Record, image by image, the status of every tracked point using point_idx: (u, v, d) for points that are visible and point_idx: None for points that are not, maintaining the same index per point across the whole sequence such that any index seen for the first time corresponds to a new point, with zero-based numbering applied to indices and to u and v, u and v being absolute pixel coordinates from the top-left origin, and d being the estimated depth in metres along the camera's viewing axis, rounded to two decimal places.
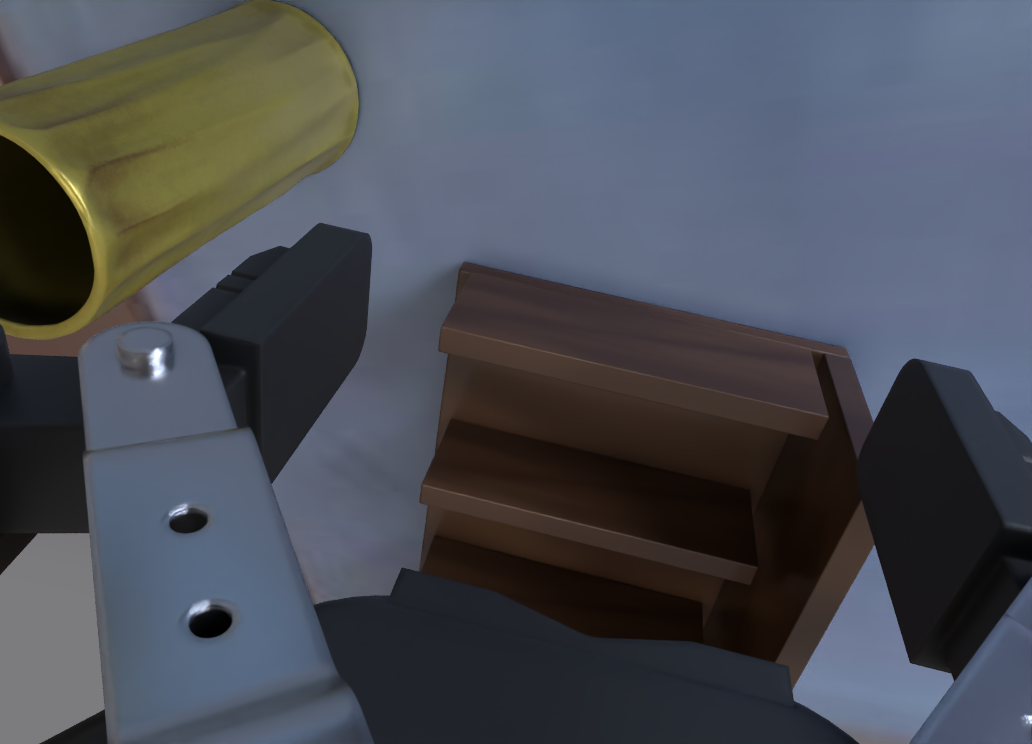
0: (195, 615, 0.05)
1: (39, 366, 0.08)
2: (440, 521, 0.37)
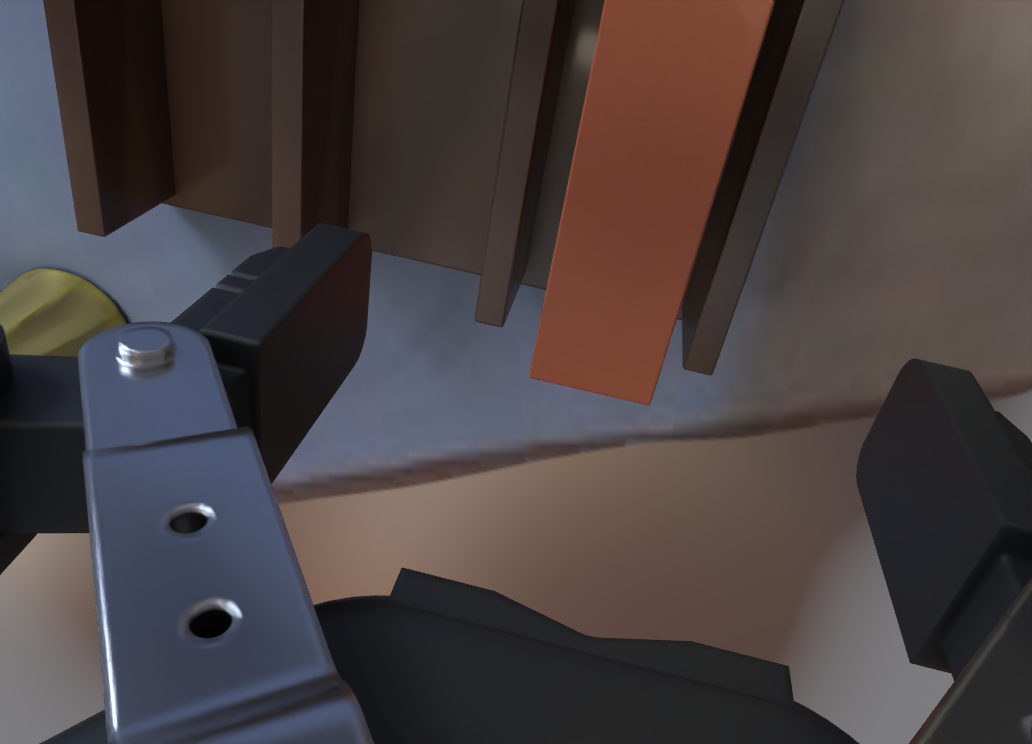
0: (195, 616, 0.05)
1: (38, 367, 0.08)
2: (475, 257, 0.30)
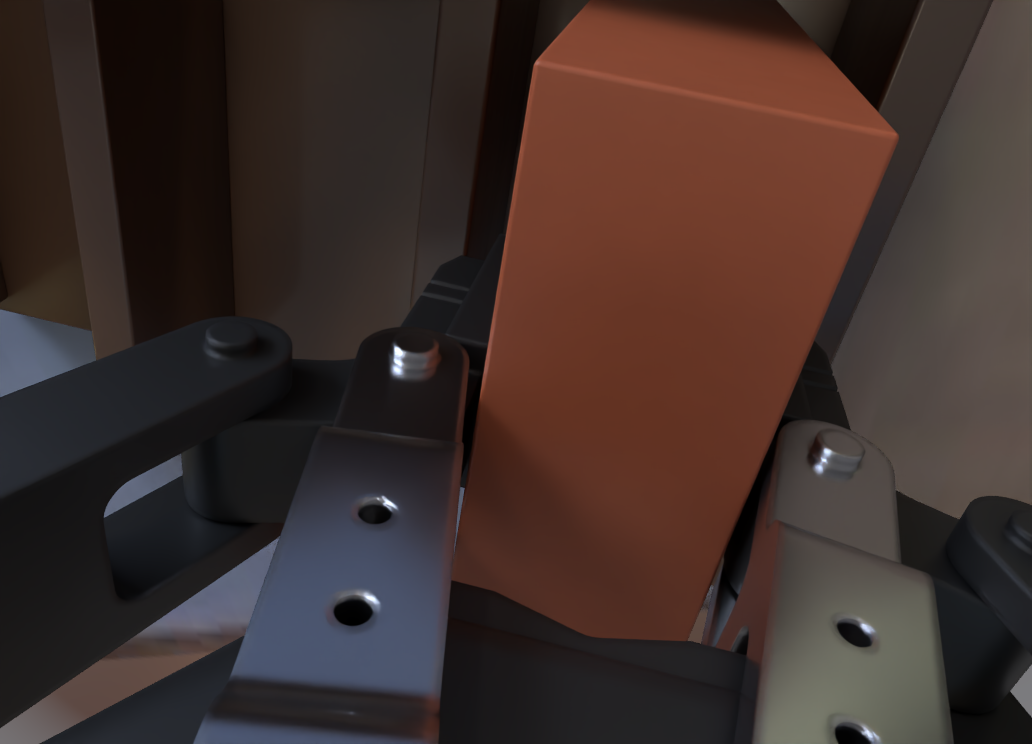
0: (344, 600, 0.05)
1: (305, 370, 0.09)
2: None
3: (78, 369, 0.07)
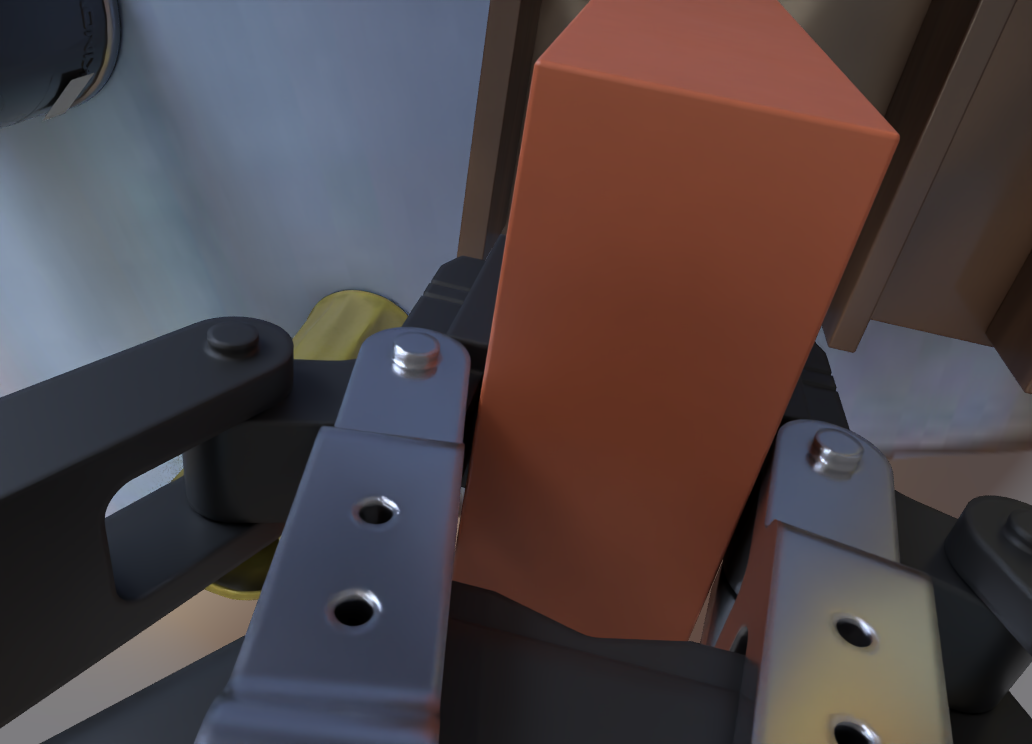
0: (344, 600, 0.05)
1: (307, 369, 0.09)
2: None
3: (80, 369, 0.07)
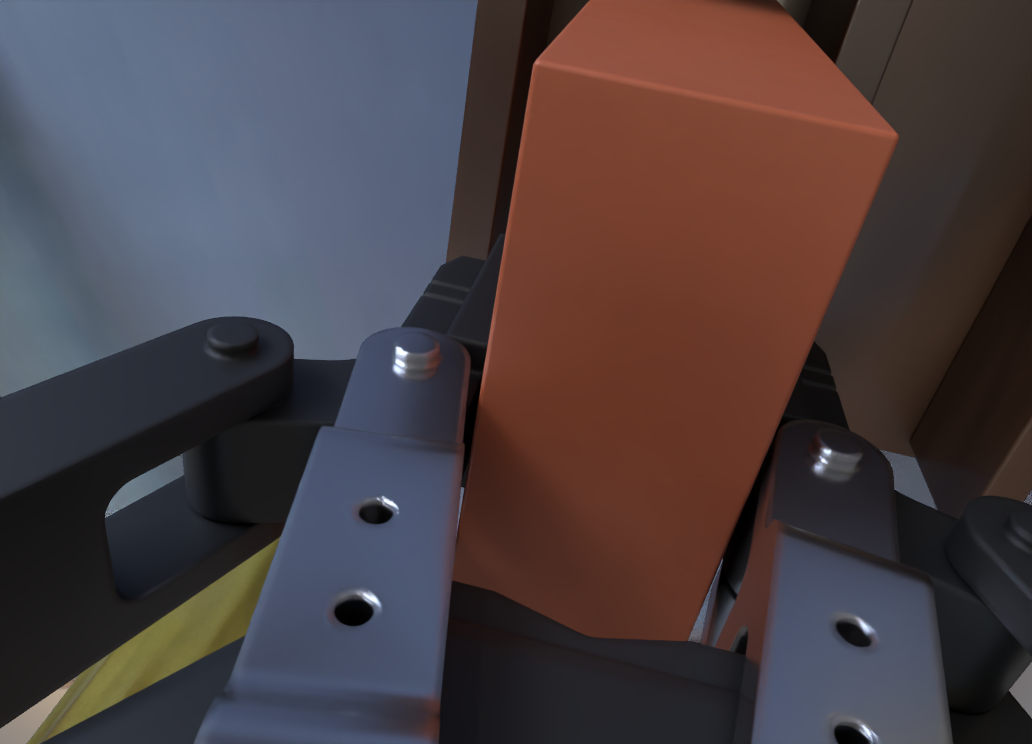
0: (344, 599, 0.05)
1: (306, 370, 0.09)
2: (879, 430, 0.24)
3: (79, 369, 0.07)
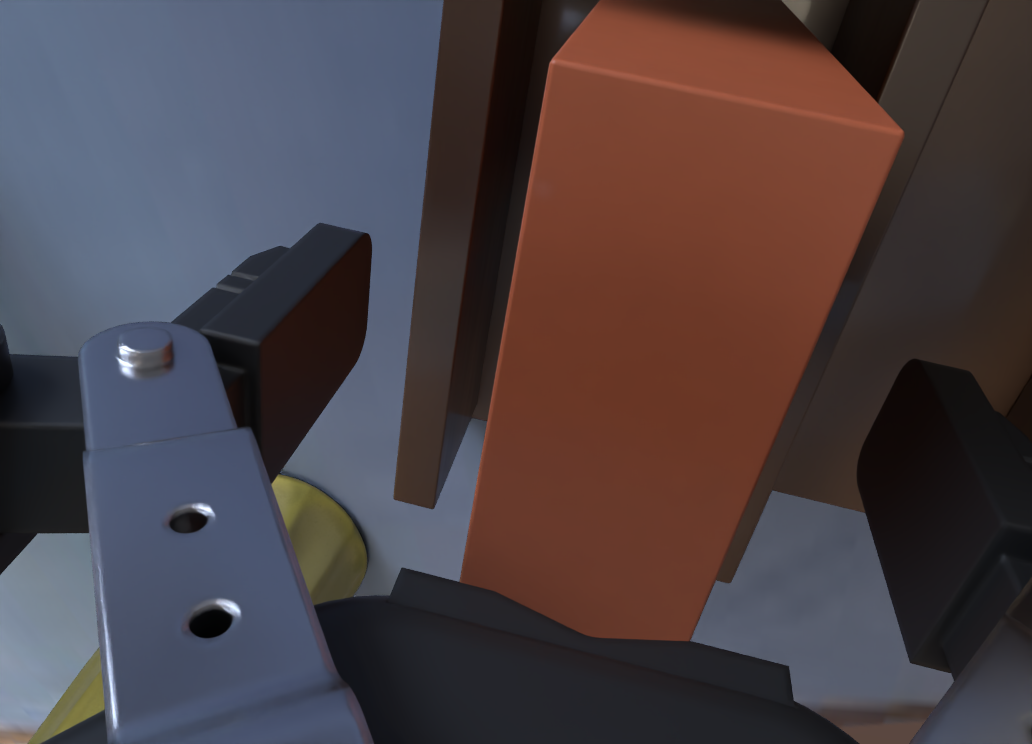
0: (196, 615, 0.05)
1: (38, 367, 0.08)
2: None
3: None
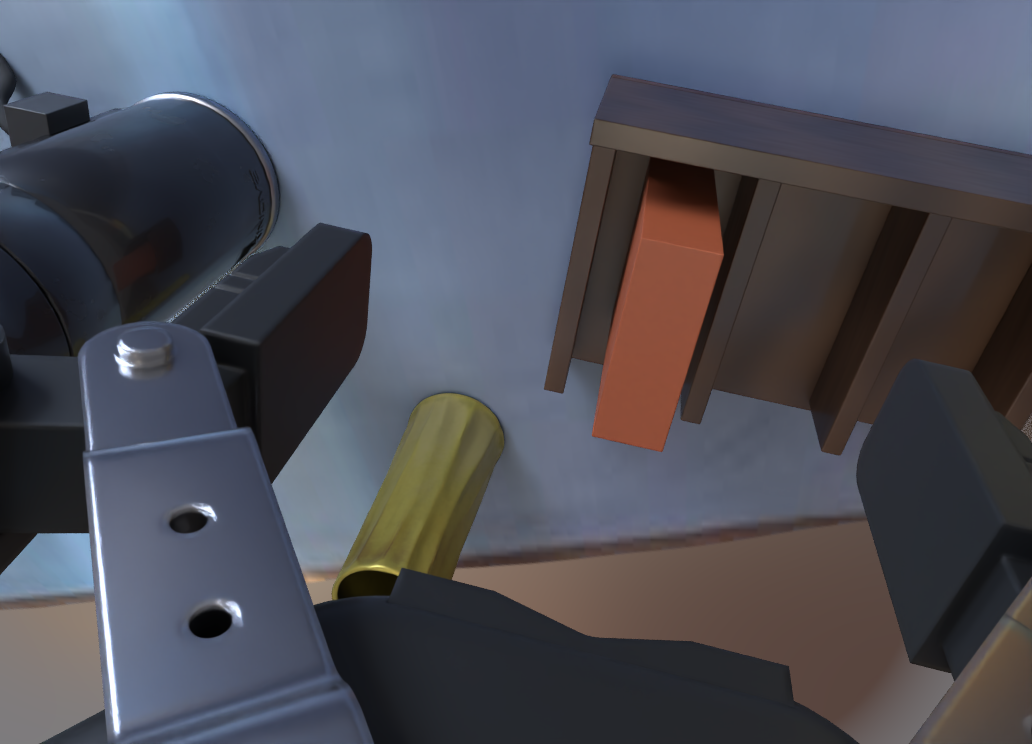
0: (195, 616, 0.05)
1: (38, 366, 0.08)
2: (791, 395, 0.43)
3: None
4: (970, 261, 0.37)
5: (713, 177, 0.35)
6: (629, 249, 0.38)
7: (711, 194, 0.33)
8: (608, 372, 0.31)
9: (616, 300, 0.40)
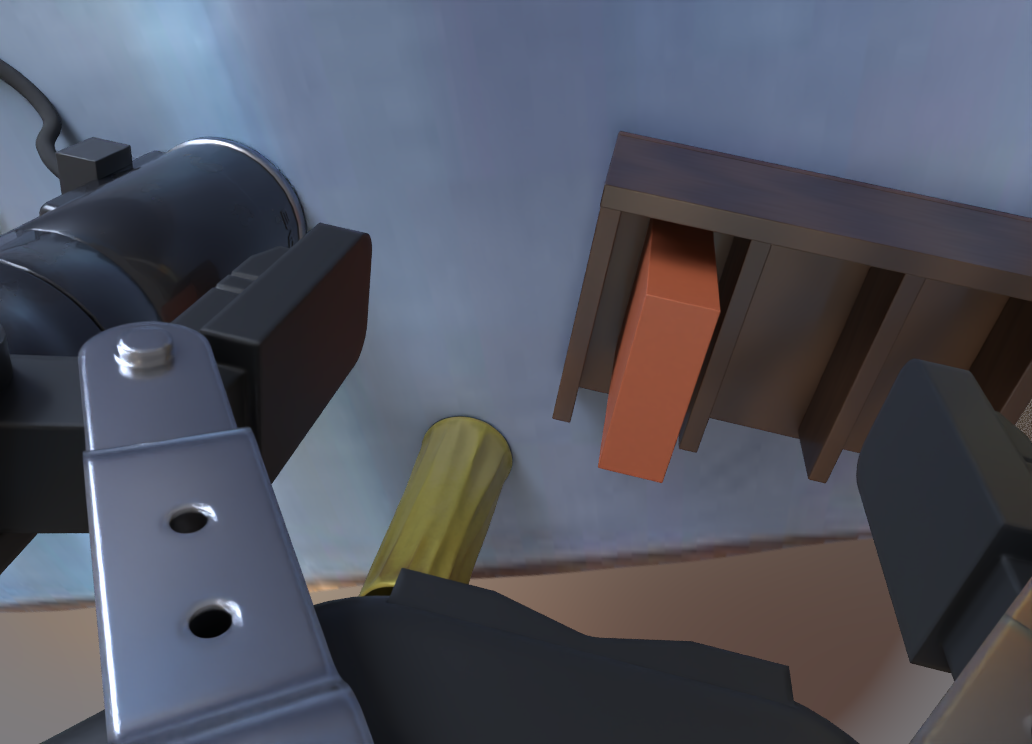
0: (195, 616, 0.05)
1: (38, 367, 0.08)
2: (782, 424, 0.46)
3: None
4: (947, 306, 0.40)
5: None
6: (633, 291, 0.41)
7: (709, 247, 0.36)
8: (614, 411, 0.34)
9: (620, 336, 0.43)
